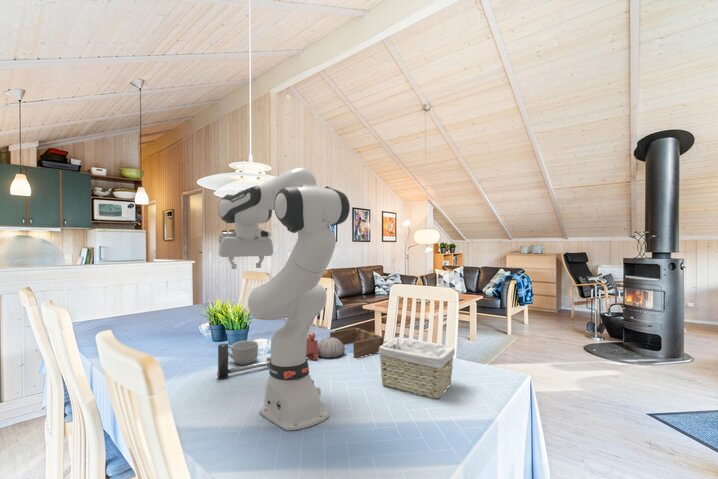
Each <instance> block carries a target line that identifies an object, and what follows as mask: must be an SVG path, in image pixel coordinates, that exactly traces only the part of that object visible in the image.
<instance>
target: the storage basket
mask: <svg viewBox="0 0 718 479" xmlns="http://www.w3.org/2000/svg"><path fill="white" fill-rule="evenodd" d="M455 352H456V351H455V347H453V346H449V345H446V344H440V343H436V342H430V341H424V340H419V339H414V338H407V337H398V336H396V337H394V338H392V339H390V340H388V341H387V342H386V341H385V343H383V345H382V346H380V347H379V353H378V355H379V361H380V374H381V384H382V385H383V386H386V387H388V386H389V388H393V389H396V388H397V389H396V390H399V391H406V392H407V391H408V392H407V393H411V392H412V393H411V394H414V393H416V394H415V395H417V394H421V395H420V396H422V395H425V396H424V397H427V396H428V398H430V397H433V398H432V399H434V398H439V397H441V398H442V396H443V395H444V394H445V393H444V391H445V390H446V389H447V387H448V386H449V385H450V384H451V385H452V375H453V368H454V366H453V361H454V356H455ZM451 385H450V386H451ZM443 393H444V394H443ZM442 394H443V395H442ZM441 395H442V396H441Z"/></svg>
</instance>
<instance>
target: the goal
mask: <svg viewBox="0 0 718 479" xmlns="http://www.w3.org/2000/svg"><path fill="white" fill-rule="evenodd" d="M329 337H334V338H336V339H338V340H340V341H341V342H342V344H343V345H344V346H345V345H348V343H349V344H353V358H354V359H355V358H356V359H358V358H357V357H360V358H362V357H361V356H364V357H366V356H365V355H368V356H370V355H369V354H372V355H374V354H373V353H377V352H379V347H380V346H382V345H383V344H384V337H383V336H381V335H379V334H376V333H373V332H370V331H367V330H364V329H361V328H358V327H352V328H346V329H340V330H333V331H330V332H329ZM353 342H354V343H353ZM377 354H378V353H377Z"/></svg>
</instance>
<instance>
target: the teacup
mask: <svg viewBox="0 0 718 479" xmlns="http://www.w3.org/2000/svg"><path fill="white" fill-rule="evenodd" d="M229 348H230V350H231V353H230V352H229V351H228V357H230V358H231V359H232V360H233V362H234V363H235V364H237V365H239V366H240V365H241V366H247V365H252V364H253V363H254V361H255V360H257V358H258V356H259V342H257V341H255V340H240V341H236V342H235V343H233V344H228V349H229Z"/></svg>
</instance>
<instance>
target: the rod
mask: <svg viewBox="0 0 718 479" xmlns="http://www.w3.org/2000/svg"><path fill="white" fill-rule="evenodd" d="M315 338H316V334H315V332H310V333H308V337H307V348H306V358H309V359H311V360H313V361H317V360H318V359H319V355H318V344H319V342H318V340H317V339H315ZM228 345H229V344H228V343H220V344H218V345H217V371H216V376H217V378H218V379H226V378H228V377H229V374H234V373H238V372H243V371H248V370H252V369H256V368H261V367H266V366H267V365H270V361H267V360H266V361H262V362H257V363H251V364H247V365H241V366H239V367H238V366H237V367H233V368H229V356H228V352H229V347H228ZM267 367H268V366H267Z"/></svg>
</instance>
